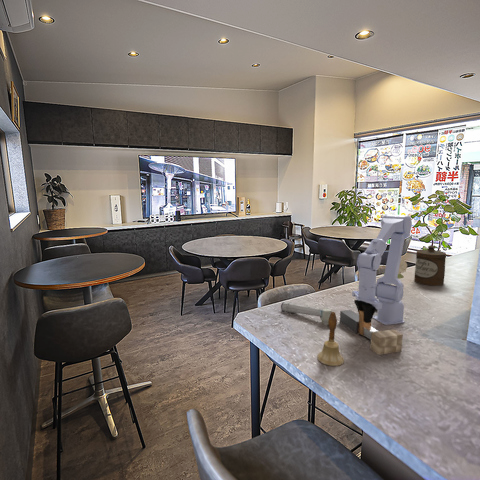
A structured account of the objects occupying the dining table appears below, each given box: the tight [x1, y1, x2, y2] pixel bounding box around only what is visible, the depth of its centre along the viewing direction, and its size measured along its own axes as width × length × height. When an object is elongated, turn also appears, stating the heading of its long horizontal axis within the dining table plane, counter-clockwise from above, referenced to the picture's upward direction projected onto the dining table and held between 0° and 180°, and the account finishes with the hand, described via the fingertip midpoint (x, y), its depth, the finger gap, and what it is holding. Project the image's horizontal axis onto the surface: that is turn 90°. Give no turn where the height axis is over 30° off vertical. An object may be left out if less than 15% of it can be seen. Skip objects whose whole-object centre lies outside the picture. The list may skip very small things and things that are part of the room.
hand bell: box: [316, 311, 345, 367], centre depth 95 cm, size 8×8×16 cm
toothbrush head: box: [280, 302, 333, 326], centre depth 129 cm, size 5×7×25 cm
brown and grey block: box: [358, 310, 379, 341], centre depth 114 cm, size 4×16×9 cm, turn 14°
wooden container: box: [414, 244, 447, 287], centre depth 175 cm, size 15×15×22 cm
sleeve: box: [339, 309, 359, 335], centre depth 119 cm, size 5×11×5 cm, turn 14°
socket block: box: [370, 328, 404, 356], centre depth 101 cm, size 9×4×6 cm, turn 104°
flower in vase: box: [376, 257, 408, 300], centre depth 134 cm, size 13×11×25 cm
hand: (365, 320), depth 111 cm, fingers closed on brown and grey block, 2 cm apart
